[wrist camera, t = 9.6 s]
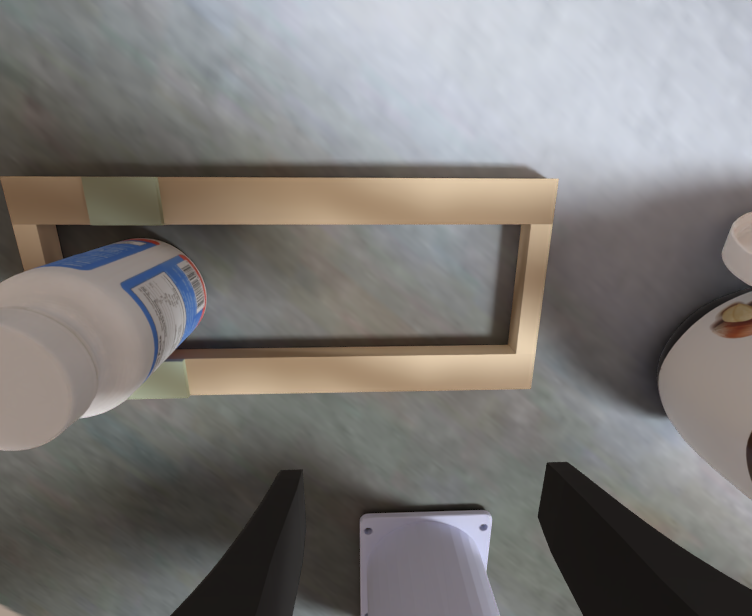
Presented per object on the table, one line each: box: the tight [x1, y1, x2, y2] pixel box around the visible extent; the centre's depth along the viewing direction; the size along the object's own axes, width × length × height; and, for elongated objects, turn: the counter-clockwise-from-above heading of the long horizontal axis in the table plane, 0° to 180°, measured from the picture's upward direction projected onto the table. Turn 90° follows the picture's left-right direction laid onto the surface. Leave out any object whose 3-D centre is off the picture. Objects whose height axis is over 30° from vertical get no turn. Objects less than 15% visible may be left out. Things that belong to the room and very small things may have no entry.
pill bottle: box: [0, 238, 207, 451], centre depth 16 cm, size 6×5×10 cm
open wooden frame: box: [0, 176, 559, 399], centre depth 20 cm, size 10×24×2 cm, turn 90°
